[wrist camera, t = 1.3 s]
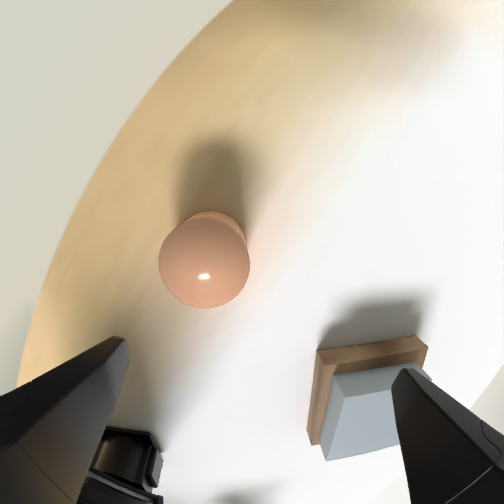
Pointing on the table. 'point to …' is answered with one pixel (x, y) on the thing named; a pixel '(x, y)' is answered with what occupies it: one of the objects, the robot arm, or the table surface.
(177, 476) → the table surface
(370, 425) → the grey top slab
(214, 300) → the peach domed cylinder
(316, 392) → the walnut base slab
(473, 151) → the table surface
